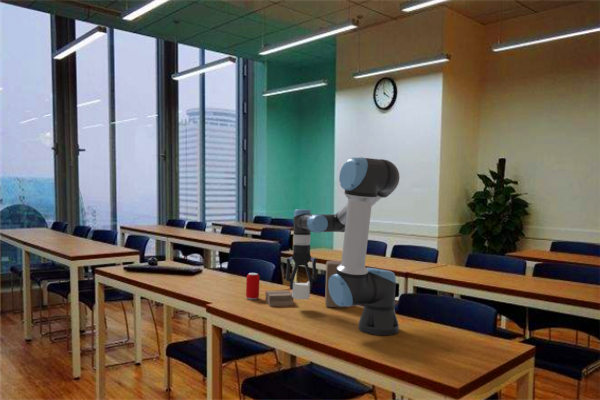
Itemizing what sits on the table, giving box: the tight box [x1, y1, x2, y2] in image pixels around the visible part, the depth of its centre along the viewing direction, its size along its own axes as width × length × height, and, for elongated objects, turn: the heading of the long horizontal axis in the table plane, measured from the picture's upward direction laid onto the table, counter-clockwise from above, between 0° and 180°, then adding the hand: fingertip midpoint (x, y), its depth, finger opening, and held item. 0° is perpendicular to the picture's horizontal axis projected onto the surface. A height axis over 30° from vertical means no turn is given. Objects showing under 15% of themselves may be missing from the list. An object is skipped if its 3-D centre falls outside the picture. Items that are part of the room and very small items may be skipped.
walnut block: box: [265, 289, 294, 307], centre depth 212 cm, size 11×11×5 cm
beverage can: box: [245, 272, 260, 301], centre depth 220 cm, size 6×6×12 cm
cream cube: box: [293, 282, 310, 300], centre depth 201 cm, size 6×6×6 cm
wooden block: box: [324, 260, 348, 309], centre depth 211 cm, size 10×10×20 cm
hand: (300, 296), depth 201 cm, fingers closed on cream cube, 6 cm apart
